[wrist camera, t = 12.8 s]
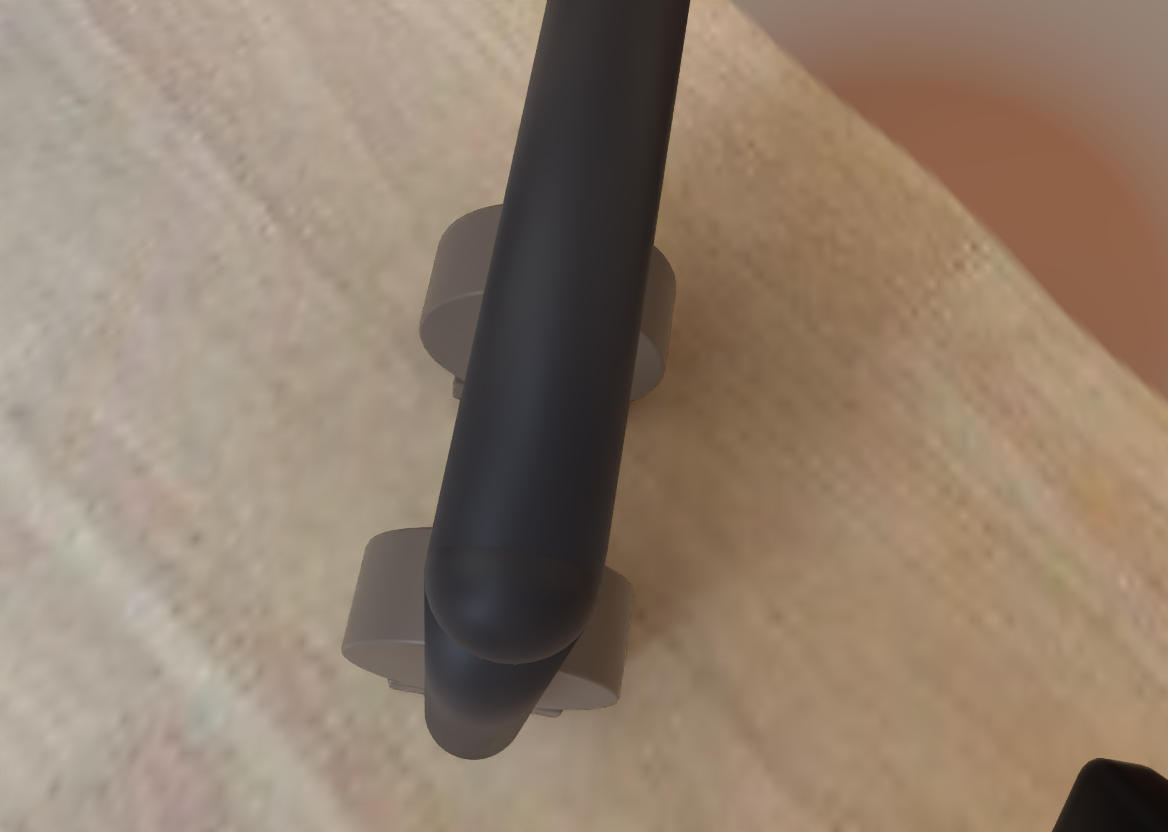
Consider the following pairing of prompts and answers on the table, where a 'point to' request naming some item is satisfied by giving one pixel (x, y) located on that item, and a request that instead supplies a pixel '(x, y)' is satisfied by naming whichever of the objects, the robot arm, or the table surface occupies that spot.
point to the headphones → (538, 396)
